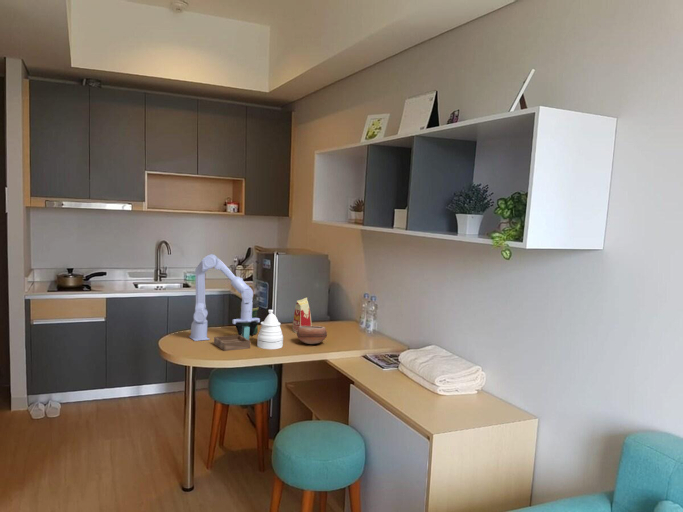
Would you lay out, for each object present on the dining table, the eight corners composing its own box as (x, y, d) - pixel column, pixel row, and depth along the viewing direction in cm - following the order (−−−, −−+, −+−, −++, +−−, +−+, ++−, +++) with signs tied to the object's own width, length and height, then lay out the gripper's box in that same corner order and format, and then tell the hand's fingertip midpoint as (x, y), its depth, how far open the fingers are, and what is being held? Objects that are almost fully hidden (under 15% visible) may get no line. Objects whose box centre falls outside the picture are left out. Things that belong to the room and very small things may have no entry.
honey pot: (254, 343, 271) (256, 308, 269) (278, 342, 276) (280, 308, 274) (260, 349, 259) (262, 313, 257) (285, 348, 264) (287, 313, 262)
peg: (241, 339, 276) (242, 326, 276) (246, 339, 278) (247, 326, 277) (243, 340, 274) (244, 327, 273) (249, 340, 275) (249, 327, 275)
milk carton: (304, 329, 308) (306, 295, 306) (312, 333, 300) (314, 298, 298) (290, 330, 303) (292, 296, 301) (297, 334, 295) (299, 299, 293)
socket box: (213, 343, 264) (214, 337, 264) (239, 341, 272) (239, 334, 271) (223, 350, 253) (224, 343, 253) (250, 348, 260) (250, 341, 260)
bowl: (322, 340, 286) (323, 321, 285) (329, 347, 271) (330, 328, 270) (294, 340, 282) (295, 321, 281) (298, 347, 267) (300, 328, 266)
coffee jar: (259, 333, 292) (261, 300, 291) (253, 336, 285) (255, 302, 283) (243, 331, 295) (245, 298, 293) (237, 334, 287) (238, 300, 286)
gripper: (236, 313, 267) (235, 339, 268) (262, 311, 275) (261, 336, 276) (231, 310, 273) (230, 336, 274) (256, 308, 281) (255, 333, 282)
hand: (245, 336), depth 276 cm, fingers open, 6 cm apart
